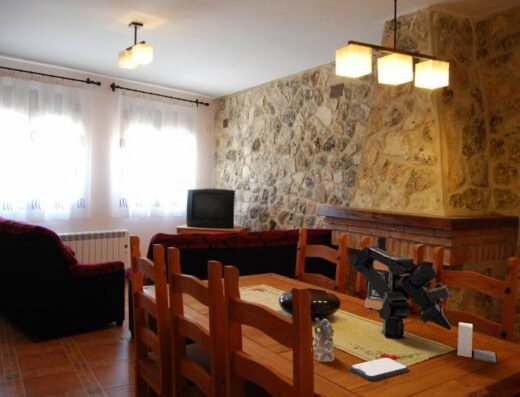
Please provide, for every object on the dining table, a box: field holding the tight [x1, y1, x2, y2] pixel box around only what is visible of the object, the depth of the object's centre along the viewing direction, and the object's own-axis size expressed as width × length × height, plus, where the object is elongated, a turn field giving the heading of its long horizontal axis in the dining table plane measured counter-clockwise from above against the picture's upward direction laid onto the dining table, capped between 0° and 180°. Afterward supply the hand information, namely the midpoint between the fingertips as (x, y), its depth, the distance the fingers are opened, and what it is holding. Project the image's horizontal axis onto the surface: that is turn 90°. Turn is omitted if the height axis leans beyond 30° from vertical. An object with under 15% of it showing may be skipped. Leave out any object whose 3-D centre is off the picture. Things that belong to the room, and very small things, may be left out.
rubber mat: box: [473, 348, 497, 363], centre depth 136 cm, size 6×8×1 cm
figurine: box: [312, 317, 336, 363], centre depth 131 cm, size 7×7×12 cm
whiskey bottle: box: [364, 235, 394, 311], centre depth 191 cm, size 10×10×32 cm
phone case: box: [349, 357, 409, 382], centre depth 123 cm, size 9×2×16 cm
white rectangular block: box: [457, 322, 473, 358], centre depth 138 cm, size 4×6×9 cm, turn 154°
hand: (450, 328), depth 140 cm, fingers closed
